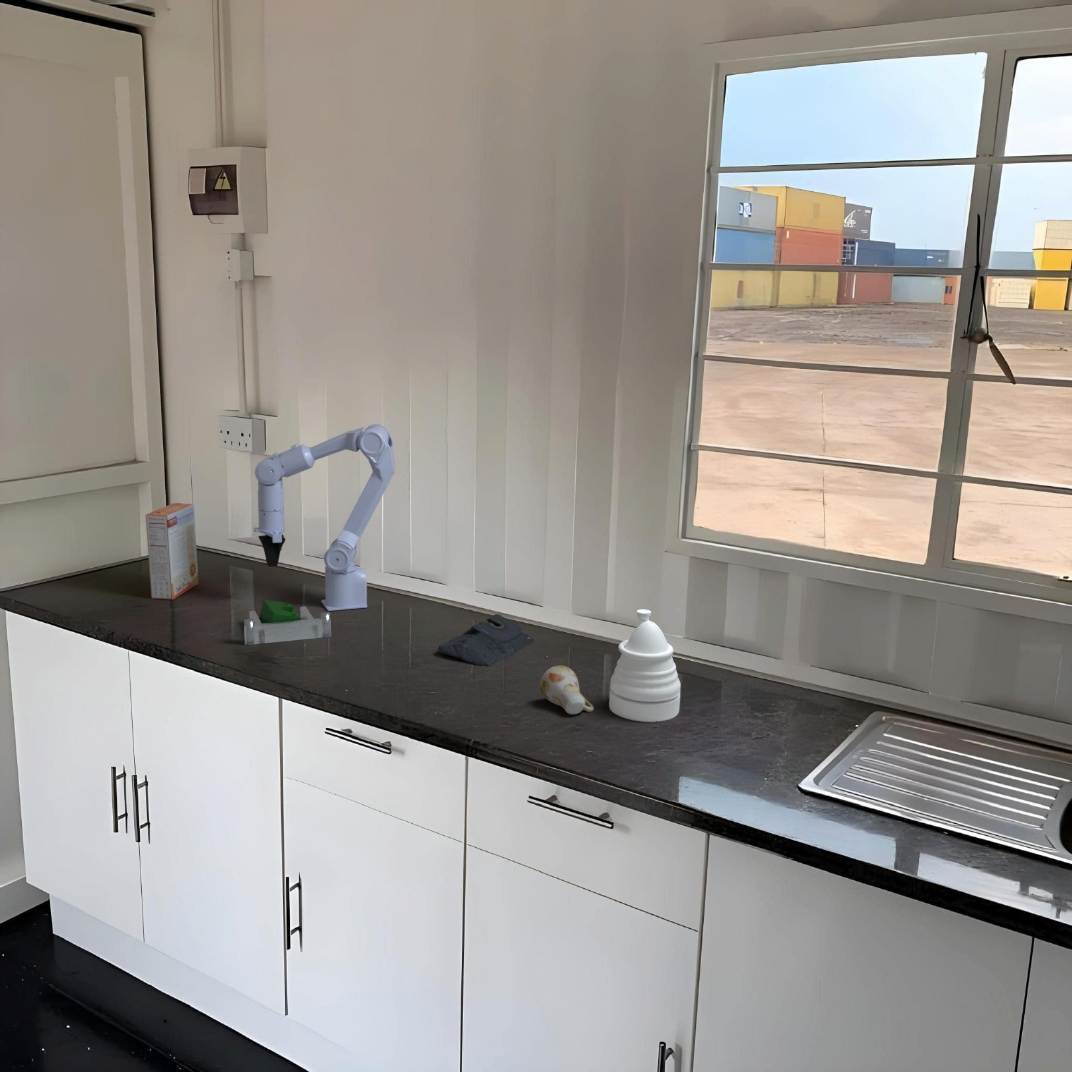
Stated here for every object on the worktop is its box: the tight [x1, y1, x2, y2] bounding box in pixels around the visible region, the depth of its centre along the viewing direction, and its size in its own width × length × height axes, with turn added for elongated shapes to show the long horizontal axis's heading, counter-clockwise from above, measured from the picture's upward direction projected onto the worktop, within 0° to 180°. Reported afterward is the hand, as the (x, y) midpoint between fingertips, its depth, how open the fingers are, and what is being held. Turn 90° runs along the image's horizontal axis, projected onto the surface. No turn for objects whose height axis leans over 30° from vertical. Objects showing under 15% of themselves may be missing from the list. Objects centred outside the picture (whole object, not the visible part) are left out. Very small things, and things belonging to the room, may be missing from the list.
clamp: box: [258, 599, 301, 624], centre depth 227 cm, size 12×6×9 cm, turn 19°
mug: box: [539, 665, 595, 715], centre depth 190 cm, size 8×10×10 cm
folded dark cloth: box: [437, 613, 535, 667], centre depth 221 cm, size 15×22×5 cm
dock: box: [243, 606, 332, 646], centre depth 226 cm, size 18×14×5 cm
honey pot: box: [608, 608, 682, 723], centre depth 189 cm, size 13×13×18 cm
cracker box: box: [145, 502, 199, 601], centre depth 251 cm, size 14×6×21 cm, turn 172°
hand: (272, 565), depth 244 cm, fingers closed
